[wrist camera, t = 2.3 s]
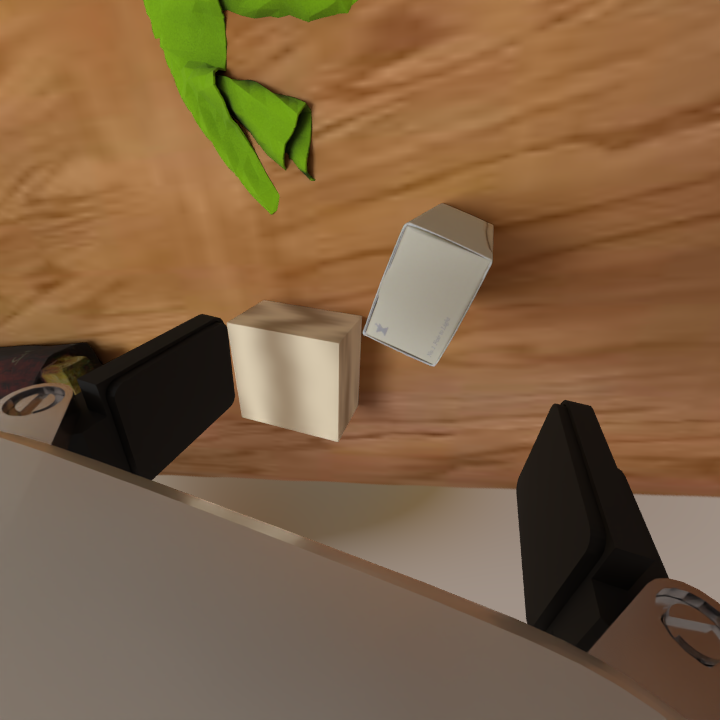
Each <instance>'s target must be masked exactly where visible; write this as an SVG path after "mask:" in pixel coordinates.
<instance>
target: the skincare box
mask: <svg viewBox="0 0 720 720" xmlns="http://www.w3.org/2000/svg"><path fill="white" fill-rule="evenodd" d="M493 231H494V226H493V225H492V224H490V223H487V222H485V221H483V220H481V219H479V218H477V217H474V216H472V215H470V214H467V213H465V212H463V211H461V210H458V209H456V208H453V207H451V206H448V205H446V204H443V203H441V204H439V205H437V206H436V207H434V208H432V209H431V210H429V211H427V212H425V213H423V214H422V215H420V216H418V217H417V218H415V219H413V220H411V221H409V222H407V223H406V224H404V226H403V228H402V231H401V233H400V235H399V238H398V240H397V243H396V245H395V247H394V250H393V253H392V255H391V257H390V260H389V262H388V265H387V267H386V270H385V272H384V275H383V277H382V280H381V283H380V286H379V288H378V291H377V294H376V296H375V299H374V302H373V305H372V307H371V310H370V313H369V316H368V319H367V322H366V325H365V327H364V330H363V335H365V336H367V337H370V338H372V339H373V340H375V341H378V342H380V343H382V344H384V345H386V346H388V347H390V348H392V349H394V350H397V351H399V352H401V353H403V354H405V355H407V356H409V357H412V358H414V359H416V360H418V361H421V362H423V363H425V364H428V365H430V366H435V365H436V364H437V363H438V361H439V359H440V358H441V356H442V355H443V353H444V351H445V350H446V348H447V346H448V345H449V343H450V341H451V340H452V338H453V336H454V334H455V333H456V331H457V329H458V327H459V325H460V324H461V322H462V320H463V318H464V316H465V314H466V313H467V311H468V309H469V307H470V305H471V303H472V301H473V300H474V298H475V296H476V294H477V292H478V290H479V288H480V286H481V284H482V282H483V280H484V279H485V277H486V274H487V272H488V270H489V269H490V267H491V265H492V262H493V233H494V232H493Z"/></svg>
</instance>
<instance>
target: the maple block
mask: <svg viewBox="0 0 720 720" xmlns="http://www.w3.org/2000/svg"><path fill="white" fill-rule="evenodd" d="M227 327H228V333H229V340H230V346H231V352H232V358H233V364H234V370H235V377H236V383H237V389H238V395H239V401H240V408H241V414H242V417H244V418H248V419H252V420H255V421H259V422H263V423H267V424H271V425H275V426H279V427H282V428H286V429H290V430H294V431H298V432H302V433H306V434H309V435H313V436H317V437H321V438H325V439H329V440H332V441H336V442H338V441H339V439H340V438H341V436H342V434H343V432H344V430H345V428H346V427H347V425H348V423H349V421H350V419H351V418H352V416H353V414H354V412H355V410H356V408H357V407H358V398H359V375H360V352H361V329H362V316H358V315H352V314H346V313H340V312H334V311H328V310H321V309H315V308H309V307H303V306H297V305H291V304H284V303H278V302H272V301H266V300H263V301H262V302H260V303H258V304H257V305H255V306H253V307H252V308H250V309H248V310H247V311H245V312H243V313H242V314H240V315H239V316H237V317H235V318H234V319H232V320H230V321H229V322H227Z"/></svg>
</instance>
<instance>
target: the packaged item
mask: <svg viewBox="0 0 720 720" xmlns="http://www.w3.org/2000/svg"><path fill="white" fill-rule="evenodd" d="M100 366H102V364H101V363H100V362H99V359H98V358H97V356H96V354H95V352H94V351H93V349H92V348H91V347H90V346H89V344H88V343H76V344H66V345H56V346H39V345H38V346H30V345H26V346H14V347H0V399H2V398H4V397H5V396H7V395H8V394H10V393H12V392H15V391H17V390H19V389H22V388H25V387H29V386H32V385H37V384H43V383H62V384H66V385H68V386H70V387H71V388H72V390H73V391H74V394H75V395H76V394H78V393H80V392H81V389H80V386H79V384H78V381H77V378H79V377H81V376H83V375H85V374H87V373H89V372H91V371H93V370H95V369H97V368H98V367H100Z"/></svg>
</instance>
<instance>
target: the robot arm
mask: <svg viewBox="0 0 720 720" xmlns="http://www.w3.org/2000/svg"><path fill="white" fill-rule="evenodd" d="M77 381H78V384H79V386H80V389H81V392H80V393H78V394H76V395H75V394H74V391H73V390H72V388H71V387H70V386H68V385H66V384H62V383H43V384H37V385H32V386H29V387H25V388H22V389H19V390H17V391H15V392H12V393H10V394H8V395H7V396H5V397H4V398H2V399H0V720H720V604H719V603H718V602H716V601H715V600H714V599H712V598H710V597H709V596H708V595H706V594H705V593H703V592H702V591H700V590H698V589H696V588H694V587H692V586H690V585H688V584H686V583H684V582H681V581H677V580H673V579H669V578H668V575H667V573H666V570H665V568H664V566H663V563H662V561H661V559H660V556H659V554H658V552H657V549H656V547H655V545H654V542H653V540H652V538H651V535H650V533H649V531H648V528H647V526H646V524H645V521H644V519H643V517H642V514H641V512H640V510H639V507H638V505H637V503H636V501H635V498H634V496H633V493H632V491H631V489H630V486H629V484H628V482H627V479H626V477H625V475H624V474H623V472H622V471H621V470H620V469H618V468H617V466H616V463H615V461H614V459H613V456H612V454H611V451H610V449H609V447H608V444H607V442H606V439H605V437H604V434H603V432H602V430H601V427H600V425H599V422H598V420H597V418H596V415H595V413H594V410H593V408H592V407H591V406H589V405H584V404H580V403H576V402H572V401H568V400H564V401H563V402H562V403H561V404H560V405H559V404H553V405H552V407H551V409H550V411H549V413H548V415H547V417H546V420H545V422H544V424H543V426H542V428H541V430H540V433H539V435H538V437H537V439H536V441H535V444H534V446H533V448H532V450H531V452H530V454H529V457H528V459H527V461H526V463H525V465H524V467H523V470H522V472H521V474H520V476H519V479H518V482H517V489H516V492H517V505H518V518H519V531H520V543H521V557H522V570H523V583H524V596H525V608H526V619H527V624H526V623H524V622H521V621H519V620H517V619H514V618H512V617H510V616H507V615H505V614H502V613H500V612H497V611H494V610H492V609H489V608H487V607H485V606H482V605H480V604H477V603H474V602H472V601H469V600H467V599H464V598H462V597H459V596H457V595H454V594H452V593H449V592H447V591H444V590H442V589H439V588H436V587H434V586H432V585H429V584H427V583H424V582H421V581H419V580H416V579H413V578H411V577H408V576H405V575H403V574H400V573H398V572H395V571H392V570H389V569H387V568H384V567H382V566H379V565H377V564H373V563H371V562H369V561H366V560H363V559H360V558H358V557H355V556H353V555H350V554H347V553H345V552H342V551H339V550H337V549H334V548H331V547H329V546H326V545H324V544H321V543H318V542H316V541H313V540H311V539H308V538H305V537H302V536H300V535H297V534H294V533H292V532H289V531H286V530H284V529H281V528H278V527H276V526H273V525H270V524H267V523H265V522H262V521H260V520H257V519H254V518H251V517H249V516H246V515H244V514H241V513H238V512H236V511H233V510H230V509H227V508H225V507H222V506H219V505H217V504H214V503H211V502H209V501H206V500H203V499H200V498H198V497H195V496H192V495H189V494H187V493H184V492H182V491H178V490H176V489H173V488H171V487H168V486H165V485H163V484H160V483H157V482H154V481H152V479H154V478H155V477H156V476H157V475H158V474H159V473H160V472H161V471H162V470H163V469H164V468H165V467H166V466H168V465H169V464H170V463H171V462H172V461H173V460H174V459H175V458H176V457H177V456H178V455H179V454H180V453H181V452H182V451H184V450H185V449H186V448H187V447H188V446H189V445H190V444H191V443H192V442H193V441H194V440H195V439H196V438H197V437H198V436H200V435H201V434H202V433H203V432H204V431H205V430H206V429H207V428H208V427H209V426H210V425H211V424H212V423H213V422H215V421H216V420H217V419H218V418H219V417H220V416H221V415H222V414H223V413H224V412H225V411H226V410H227V409H228V408H229V407H230V406H231V405H232V404H233V402H234V398H235V392H234V383H233V374H232V365H231V356H230V347H229V338H228V329H227V326H226V325H225V324H224V323H223V321H222V319H220V318H217V317H213V316H209V315H204V314H201V315H198V316H196V317H194V318H192V319H190V320H188V321H187V322H185V323H183V324H181V325H179V326H177V327H175V328H173V329H171V330H169V331H167V332H165V333H164V334H162V335H160V336H158V337H156V338H154V339H152V340H150V341H148V342H146V343H144V344H142V345H141V346H139V347H137V348H135V349H133V350H131V351H129V352H127V353H125V354H123V355H121V356H119V357H118V358H116V359H114V360H112V361H110V362H108V363H106V364H104V365H102V366H100V367H98V368H97V369H95V370H93V371H91V372H89V373H87V374H85V375H83V376H81V377H79V378H77Z"/></svg>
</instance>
